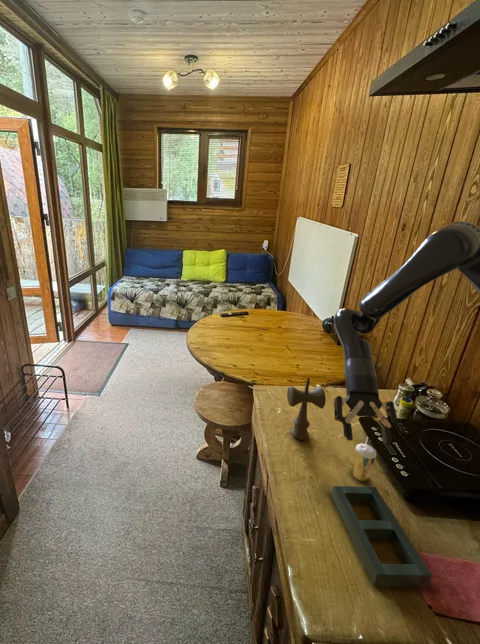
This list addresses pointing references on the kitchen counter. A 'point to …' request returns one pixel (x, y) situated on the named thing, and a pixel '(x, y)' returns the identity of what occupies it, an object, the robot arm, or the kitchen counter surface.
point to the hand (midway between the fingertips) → (368, 442)
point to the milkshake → (363, 460)
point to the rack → (386, 528)
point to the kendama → (304, 407)
